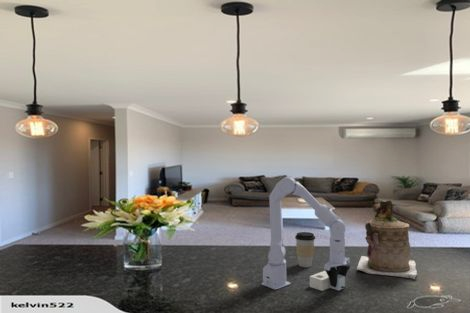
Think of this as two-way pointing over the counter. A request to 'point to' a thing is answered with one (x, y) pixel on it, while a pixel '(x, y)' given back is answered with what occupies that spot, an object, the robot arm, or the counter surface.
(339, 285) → the charger
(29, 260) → the counter surface
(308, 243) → the coffee cup
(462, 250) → the counter surface
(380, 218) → the cookie jar
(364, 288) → the counter surface
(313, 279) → the power strip
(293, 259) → the counter surface
